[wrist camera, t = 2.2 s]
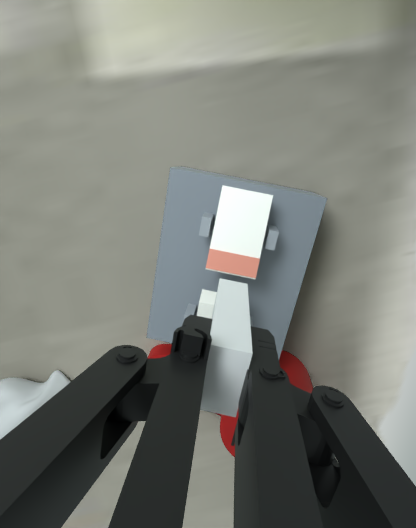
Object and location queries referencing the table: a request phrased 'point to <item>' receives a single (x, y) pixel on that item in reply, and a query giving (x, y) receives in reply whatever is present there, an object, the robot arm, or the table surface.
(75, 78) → the table surface
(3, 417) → the shell shaped sculpture
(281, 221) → the panel
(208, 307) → the rocker
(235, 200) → the rocker
